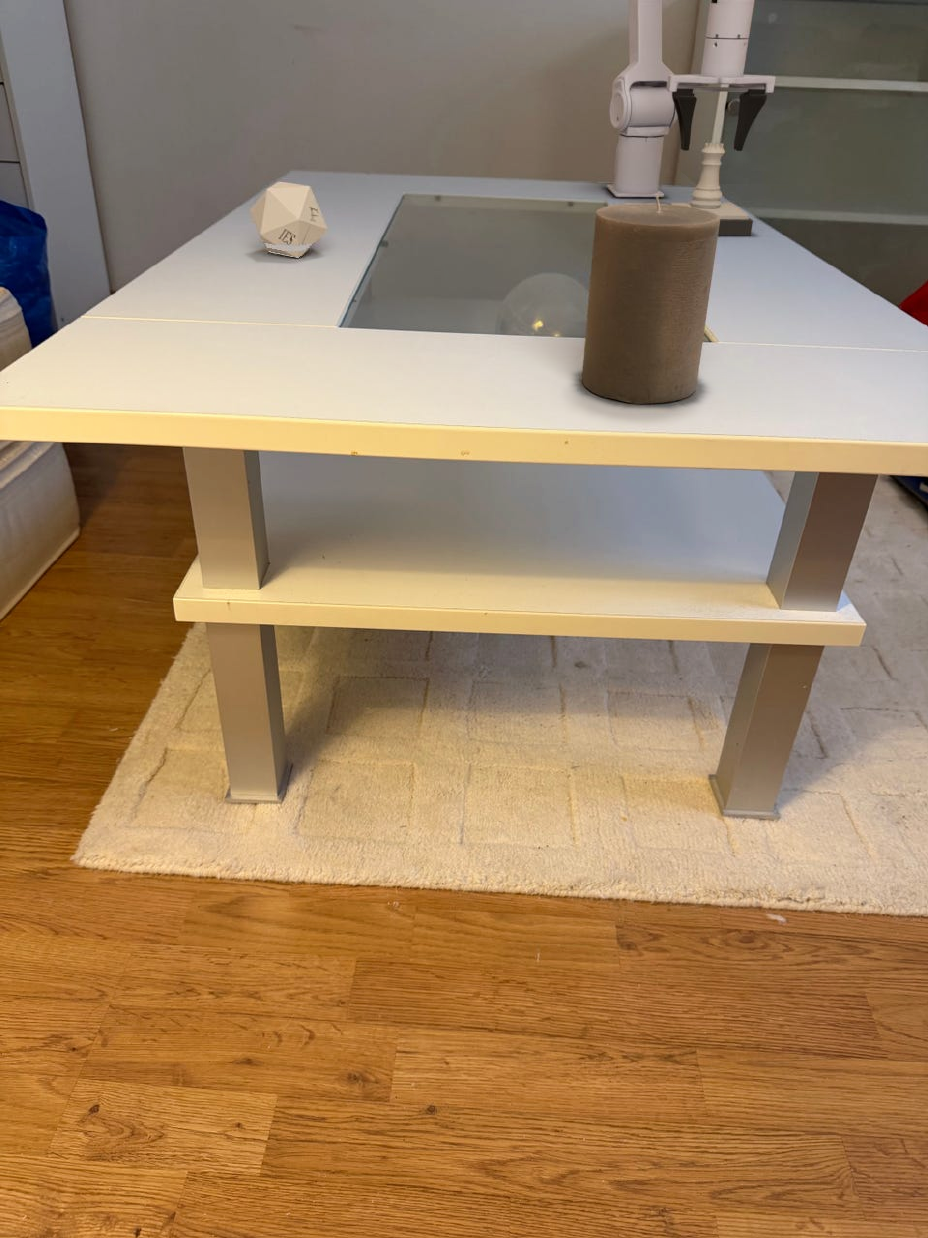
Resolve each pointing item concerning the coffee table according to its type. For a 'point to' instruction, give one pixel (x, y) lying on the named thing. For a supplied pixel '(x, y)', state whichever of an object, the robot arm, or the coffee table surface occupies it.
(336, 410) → the coffee table surface
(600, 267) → the pillar candle
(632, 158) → the robot arm
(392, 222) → the coffee table surface
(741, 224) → the scale
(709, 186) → the rook chess piece
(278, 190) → the die
